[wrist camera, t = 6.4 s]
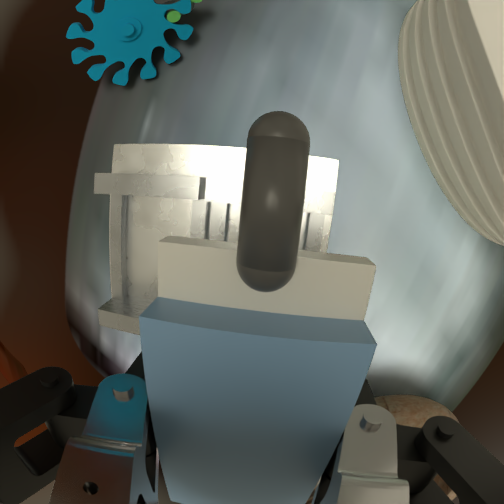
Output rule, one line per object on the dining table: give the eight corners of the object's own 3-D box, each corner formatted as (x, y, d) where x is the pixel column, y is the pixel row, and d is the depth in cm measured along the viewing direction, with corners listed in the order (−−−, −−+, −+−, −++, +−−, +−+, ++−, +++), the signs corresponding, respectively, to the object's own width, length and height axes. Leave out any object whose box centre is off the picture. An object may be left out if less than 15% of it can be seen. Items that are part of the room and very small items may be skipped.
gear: (95, 108, 19) (45, 14, 11) (105, 85, 22) (67, 7, 14) (223, 54, 19) (189, -52, 10) (211, 41, 22) (183, -44, 14)
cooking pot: (459, 420, 26) (494, 482, 14) (345, 489, 30) (354, 554, 18) (373, 303, 23) (438, 397, 11) (217, 413, 27) (192, 510, 15)
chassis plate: (121, 145, 21) (90, 140, 17) (335, 161, 20) (351, 156, 16) (120, 323, 25) (96, 347, 20) (303, 352, 24) (308, 385, 20)
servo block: (214, 140, 9) (147, 98, 4) (343, 153, 8) (414, 125, 4) (202, 423, 11) (174, 511, 7) (290, 434, 11) (290, 526, 6)
